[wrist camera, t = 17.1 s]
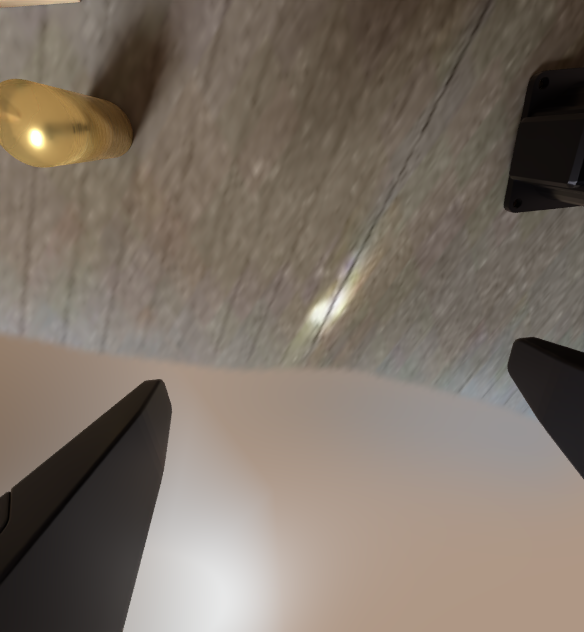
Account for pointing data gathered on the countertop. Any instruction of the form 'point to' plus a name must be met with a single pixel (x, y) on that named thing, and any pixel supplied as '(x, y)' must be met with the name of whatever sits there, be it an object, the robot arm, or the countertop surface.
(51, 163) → the pin
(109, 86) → the countertop surface
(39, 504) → the robot arm
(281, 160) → the countertop surface
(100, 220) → the countertop surface
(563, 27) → the countertop surface
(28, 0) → the socket board
